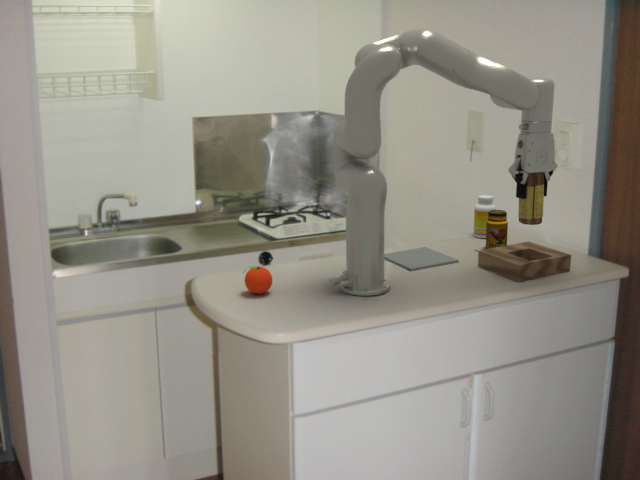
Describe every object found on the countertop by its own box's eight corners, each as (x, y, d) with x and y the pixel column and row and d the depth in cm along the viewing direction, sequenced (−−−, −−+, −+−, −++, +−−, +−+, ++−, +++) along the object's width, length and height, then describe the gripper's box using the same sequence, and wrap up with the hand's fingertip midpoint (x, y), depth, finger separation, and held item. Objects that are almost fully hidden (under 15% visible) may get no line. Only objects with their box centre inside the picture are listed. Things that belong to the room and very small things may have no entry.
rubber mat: (411, 271, 203) (411, 268, 203) (379, 256, 217) (379, 254, 216) (458, 262, 210) (458, 260, 210) (425, 248, 224) (425, 246, 224)
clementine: (236, 295, 187) (235, 268, 185) (250, 287, 193) (248, 260, 191) (264, 299, 183) (263, 271, 182) (277, 290, 190) (276, 263, 188)
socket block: (518, 282, 192) (519, 265, 191) (478, 266, 206) (478, 250, 204) (570, 271, 200) (571, 254, 199) (528, 256, 214) (528, 241, 212)
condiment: (498, 256, 215) (500, 215, 212) (474, 250, 221) (475, 210, 218) (513, 250, 220) (515, 211, 217) (488, 245, 226) (490, 206, 223)
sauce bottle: (539, 220, 200) (545, 146, 195) (544, 226, 194) (550, 149, 189) (514, 219, 201) (520, 145, 196) (518, 225, 195) (524, 149, 190)
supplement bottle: (495, 239, 232) (497, 198, 229) (473, 238, 233) (474, 198, 230) (494, 234, 239) (496, 194, 235) (473, 233, 240) (474, 194, 236)
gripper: (520, 131, 184) (515, 202, 189) (572, 127, 192) (566, 196, 196) (499, 128, 190) (495, 197, 195) (550, 124, 198) (545, 191, 203)
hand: (531, 196), depth 196 cm, fingers closed on sauce bottle, 6 cm apart
